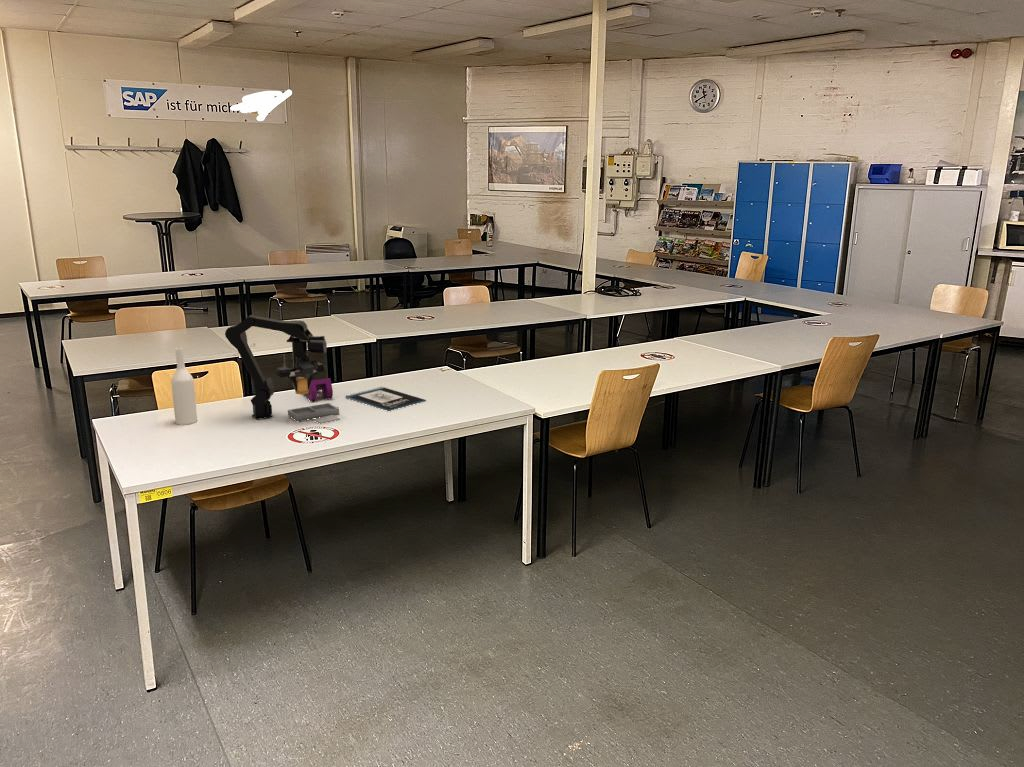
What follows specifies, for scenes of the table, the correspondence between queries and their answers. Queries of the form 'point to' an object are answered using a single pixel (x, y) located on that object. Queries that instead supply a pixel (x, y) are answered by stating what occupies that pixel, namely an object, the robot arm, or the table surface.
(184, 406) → the bottle
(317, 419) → the lid
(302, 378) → the orange drawer knob
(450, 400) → the table surface
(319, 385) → the mounting bracket
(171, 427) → the table surface
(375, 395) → the sketchbook
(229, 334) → the robot arm
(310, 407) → the housing
